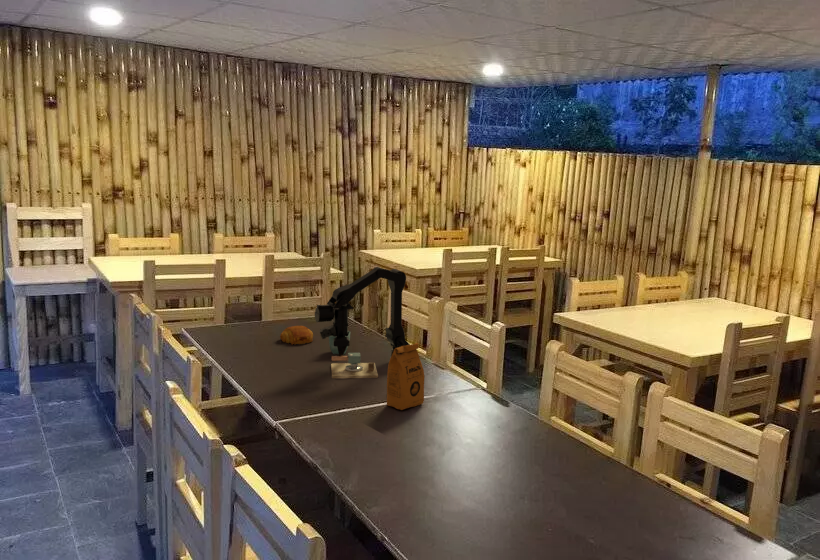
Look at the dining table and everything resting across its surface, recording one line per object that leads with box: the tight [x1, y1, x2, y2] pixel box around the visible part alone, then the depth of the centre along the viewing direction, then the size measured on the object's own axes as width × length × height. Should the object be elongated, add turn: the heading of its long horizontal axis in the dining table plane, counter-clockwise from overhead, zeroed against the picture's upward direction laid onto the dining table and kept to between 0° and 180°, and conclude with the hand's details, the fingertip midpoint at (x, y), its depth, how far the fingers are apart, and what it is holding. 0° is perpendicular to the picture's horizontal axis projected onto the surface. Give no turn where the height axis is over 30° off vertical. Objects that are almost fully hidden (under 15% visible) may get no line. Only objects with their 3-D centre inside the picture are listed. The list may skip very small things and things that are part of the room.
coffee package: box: [386, 342, 425, 411], centre depth 229 cm, size 10×12×22 cm
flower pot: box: [328, 330, 351, 355], centre depth 290 cm, size 9×9×9 cm
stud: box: [345, 363, 363, 372], centre depth 266 cm, size 7×7×3 cm
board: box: [330, 362, 379, 379], centre depth 266 cm, size 18×16×1 cm
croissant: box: [279, 325, 314, 345], centre depth 307 cm, size 14×16×8 cm
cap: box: [331, 352, 362, 364], centre depth 265 cm, size 11×5×3 cm, turn 98°
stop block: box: [368, 361, 375, 371], centre depth 265 cm, size 2×2×3 cm
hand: (340, 357), depth 268 cm, fingers closed
